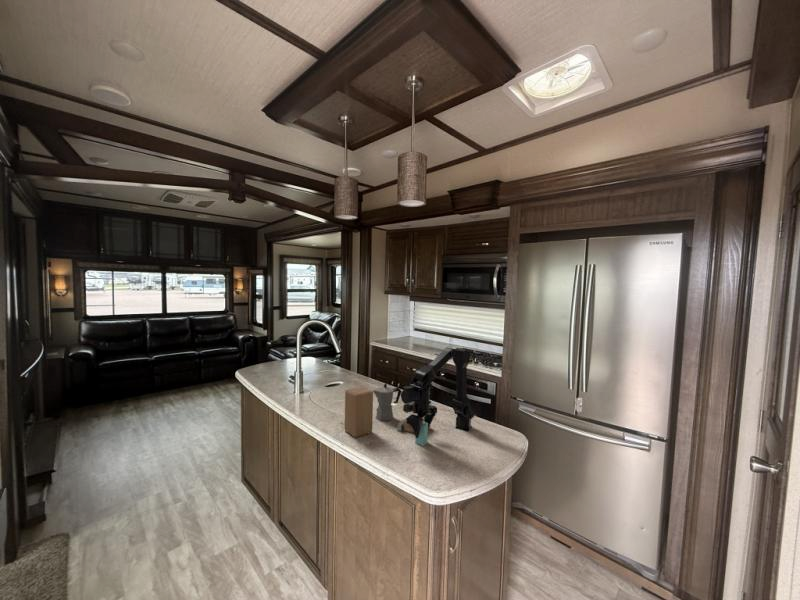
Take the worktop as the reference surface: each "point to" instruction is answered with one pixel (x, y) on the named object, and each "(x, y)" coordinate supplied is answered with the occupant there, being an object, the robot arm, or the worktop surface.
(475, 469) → the worktop surface
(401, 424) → the backstop wall
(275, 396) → the worktop surface
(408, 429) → the socket block
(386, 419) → the coffeepot
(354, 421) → the block
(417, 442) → the turquoise rectangular prism
